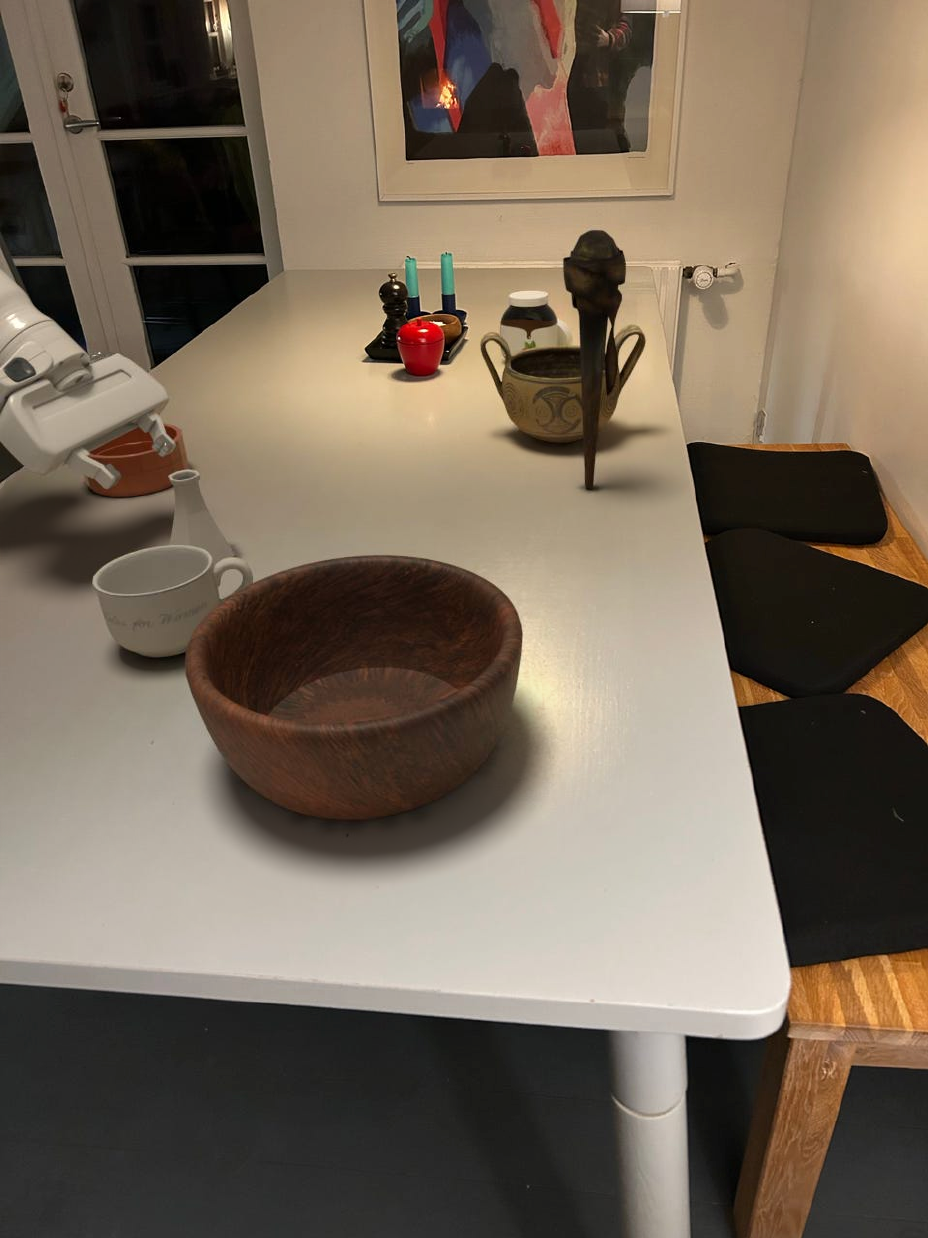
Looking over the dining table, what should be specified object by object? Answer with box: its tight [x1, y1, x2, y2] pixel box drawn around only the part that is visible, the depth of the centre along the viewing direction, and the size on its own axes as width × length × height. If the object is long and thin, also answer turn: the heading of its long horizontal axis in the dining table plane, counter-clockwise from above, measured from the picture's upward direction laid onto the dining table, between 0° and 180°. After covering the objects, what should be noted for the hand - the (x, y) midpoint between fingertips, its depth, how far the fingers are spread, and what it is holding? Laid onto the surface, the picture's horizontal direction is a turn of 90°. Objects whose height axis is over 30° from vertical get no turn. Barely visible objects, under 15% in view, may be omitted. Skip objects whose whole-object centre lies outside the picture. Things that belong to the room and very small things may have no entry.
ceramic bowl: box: [480, 324, 647, 444], centre depth 127 cm, size 22×17×15 cm
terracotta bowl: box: [83, 422, 190, 498], centre depth 123 cm, size 13×13×6 cm
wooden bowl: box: [184, 554, 524, 821], centre depth 71 cm, size 25×25×10 cm
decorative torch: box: [562, 229, 627, 489], centre depth 107 cm, size 7×7×30 cm
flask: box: [168, 468, 236, 565], centre depth 100 cm, size 7×7×10 cm
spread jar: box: [499, 290, 574, 360], centre depth 163 cm, size 12×11×12 cm
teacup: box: [92, 544, 254, 658], centre depth 86 cm, size 14×11×8 cm
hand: (143, 466), depth 99 cm, fingers open, 8 cm apart
